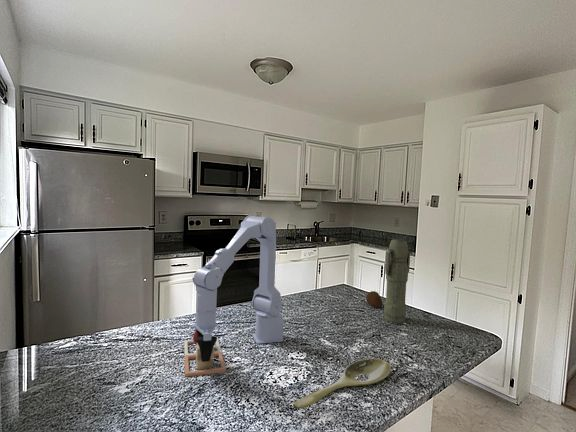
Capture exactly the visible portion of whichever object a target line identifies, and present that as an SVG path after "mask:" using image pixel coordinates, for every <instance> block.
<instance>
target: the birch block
mask: <svg viewBox="0 0 576 432" xmlns="http://www.w3.org/2000/svg"><path fill="white" fill-rule="evenodd" d="M214 347H215V346H214ZM214 347H213V350H212V354H211V358H210V361H206V362H202V360H201V353H200V348H199V345H198V343H197V346H196V351H195V353H196V358H195V365H196V371H199V370H207V369H214V357H213V352H214V351H215V349H214Z"/></svg>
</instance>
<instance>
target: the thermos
mask: <svg viewBox="0 0 576 432" xmlns="http://www.w3.org/2000/svg"><path fill="white" fill-rule="evenodd" d="M410 264H411V252H410V251H409V244H408V241H407V240H406V239H405V238H392V239H391V240H390V243H389V247H388V250H387V251H386V253H385V268H384V269H385V270H384V272H385V279H386V290H385V291H386V292H385V302H384V306H383V307H384V309H383V314H384V316H383V319H385V320H384V321H386V320H387V321H389V322H388V323H390V322H392V323H391V324H395V323H398V324H399V323H402V324H404V322H406V316H407V305H406V297H407V295H406V294H407V293H406V292H407V283H408V279H409V273H410ZM387 321H386V322H387ZM398 324H397V325H398ZM399 325H400V324H399Z"/></svg>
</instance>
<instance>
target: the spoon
mask: <svg viewBox="0 0 576 432" xmlns="http://www.w3.org/2000/svg"><path fill="white" fill-rule="evenodd" d="M391 372H392V366H391V364H390V363H389V362H388V361H387V360H383V359H381V358H365V359H359V360H356V361H355V362H351V364H349V365H348V366H346V368H344V370H343V372H342V374H341V375H340V377H339V378H338V380H337V381H335V382H333V383H332V384H331V385H327V386H324V387H323V388H321V389H318V390H316V391H314V392H311V393H309V394H307V395H306V396H304V397H302V398H300V399H297V400H296V401H295V402H294V407H295V408H297V409H304V408H307V407H310V406H311V405H313V404H315V403H317V402H318V401H320V400H321V399H323V398H324V397H326V396H327V395H329V394H330V393H332V392H333V391H335V390H338V389H341V388H345V387H358V386H368V385H372V384H373V385H374V384H376V383H379V382H382V381H383V380H384V379H386V378H388V376H389V375H390V374H391ZM358 375H368V379H366V380H357V379H356V377H357V376H358Z"/></svg>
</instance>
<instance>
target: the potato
mask: <svg viewBox="0 0 576 432" xmlns="http://www.w3.org/2000/svg"><path fill="white" fill-rule="evenodd" d="M365 300H366V302H367V304H368V305H370V306H371V305H372V306H371V307H373V306H374V307H373V308H380V307H382V306H383V300H382V298H381V295H380V293H379V292H378V291H376V290H373V291H372V290H371V291H368V293H366V296H365Z"/></svg>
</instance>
